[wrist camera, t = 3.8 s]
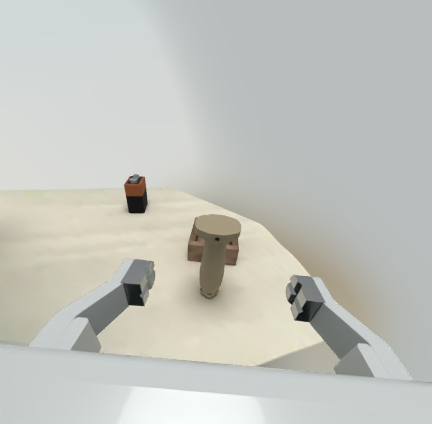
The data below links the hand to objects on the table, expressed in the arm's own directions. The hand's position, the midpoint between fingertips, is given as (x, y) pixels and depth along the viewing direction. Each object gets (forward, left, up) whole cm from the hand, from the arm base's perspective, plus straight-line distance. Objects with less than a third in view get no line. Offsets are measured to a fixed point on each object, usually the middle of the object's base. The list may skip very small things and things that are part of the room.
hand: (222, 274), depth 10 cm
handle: (0, +13, -20) cm, 24 cm away
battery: (-24, +39, -20) cm, 50 cm away
